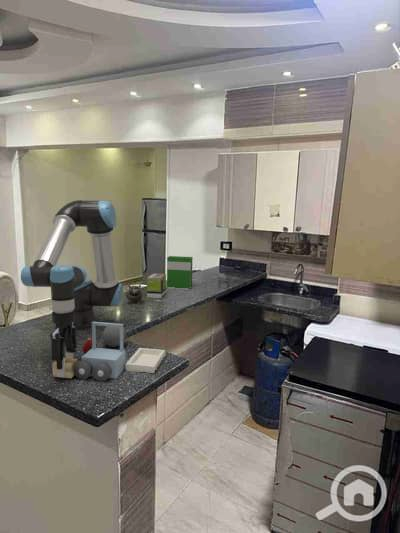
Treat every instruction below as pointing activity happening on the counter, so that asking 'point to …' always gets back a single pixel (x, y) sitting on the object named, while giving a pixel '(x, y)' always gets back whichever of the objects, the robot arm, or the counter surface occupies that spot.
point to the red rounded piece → (87, 346)
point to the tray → (145, 360)
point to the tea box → (156, 285)
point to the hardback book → (179, 272)
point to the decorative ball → (113, 336)
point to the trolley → (102, 359)
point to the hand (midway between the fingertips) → (65, 373)
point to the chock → (66, 367)
